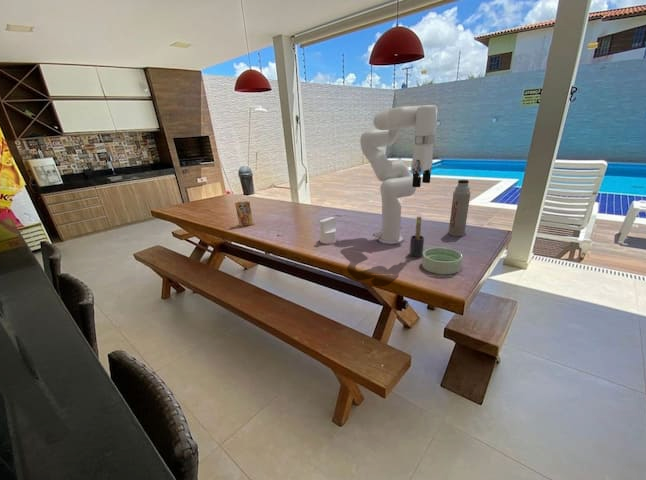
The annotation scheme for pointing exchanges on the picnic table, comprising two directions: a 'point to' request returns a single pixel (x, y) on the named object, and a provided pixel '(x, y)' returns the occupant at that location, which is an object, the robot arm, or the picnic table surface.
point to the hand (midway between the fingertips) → (421, 184)
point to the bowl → (442, 260)
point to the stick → (418, 227)
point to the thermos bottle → (459, 208)
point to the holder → (416, 246)
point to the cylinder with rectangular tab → (327, 231)
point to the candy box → (244, 213)
